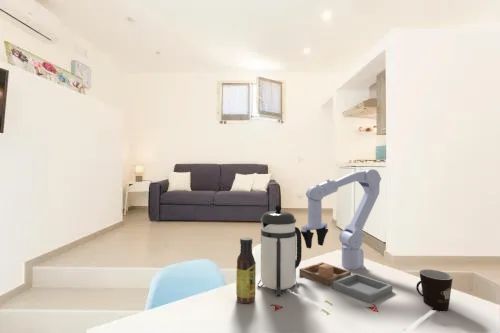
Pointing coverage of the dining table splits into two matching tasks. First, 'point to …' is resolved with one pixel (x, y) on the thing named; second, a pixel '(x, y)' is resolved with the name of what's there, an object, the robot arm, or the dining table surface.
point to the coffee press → (279, 250)
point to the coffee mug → (435, 289)
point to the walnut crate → (313, 274)
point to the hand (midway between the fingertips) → (314, 246)
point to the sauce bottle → (245, 272)
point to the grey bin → (362, 287)
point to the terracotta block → (326, 271)
